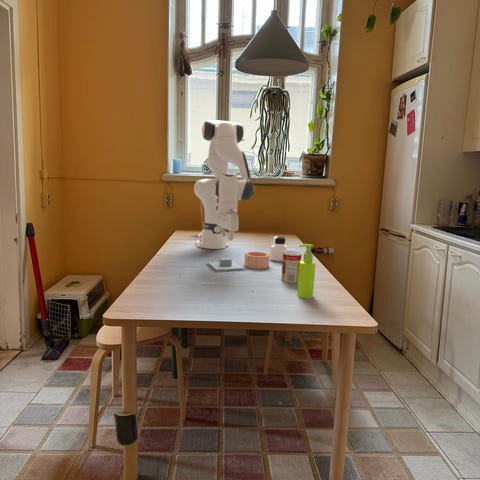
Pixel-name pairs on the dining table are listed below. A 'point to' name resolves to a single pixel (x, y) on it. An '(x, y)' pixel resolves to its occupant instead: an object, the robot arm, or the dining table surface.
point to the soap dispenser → (306, 274)
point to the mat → (223, 271)
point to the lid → (225, 265)
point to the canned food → (291, 266)
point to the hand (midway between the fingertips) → (226, 238)
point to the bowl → (257, 260)
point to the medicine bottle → (278, 249)
